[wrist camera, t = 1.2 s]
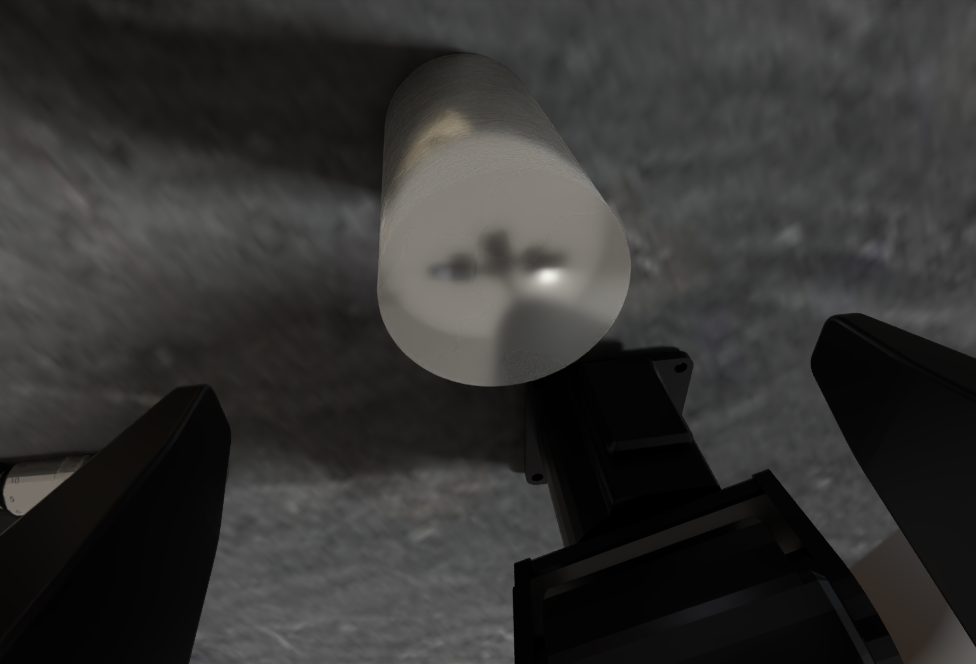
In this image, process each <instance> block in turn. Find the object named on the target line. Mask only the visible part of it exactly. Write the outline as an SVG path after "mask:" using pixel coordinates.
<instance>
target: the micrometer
mask: <svg viewBox="0 0 976 664" xmlns="http://www.w3.org/2000/svg"><path fill="white" fill-rule="evenodd" d="M93 456H95V455H93V454H87V455H75V456H68V457H65V458H53V459H41V460H29V461H21V462H19V463H17V464H16V465H14V466H12V467H8V466H7V465H6V463H0V534H1V533H2V532H4V531H5V530H6V529H7V528H8V527H10V526H11V525H12V524H13V523H14V522H16V521H17V520H18V519H19V518H20V517H22V516H23V515H24V514H25V513H26V512H28V511H29V510H30V509H31V508H32V507H34V506H35V505H36V504H37V503H38V502H40V501H41V500H42V499H43V498H44V497H46V496H47V495H48V494H49V493H50V492H52V491H53V490H54V489H55V488H56V487H58V486H59V485H60V484H61V483H62V482H63V481H65V480H66V479H67V478H68V477H69V476H71V475H72V474H73V473H74V472H75V471H77V470H78V469H79V468H80V467H81V466H83V465H84V464H85V463H86V462H87V461H89V460H90V459H91V458H92V457H93ZM228 474H229V465H228V470H227V479H226V483H227V480H228Z"/></svg>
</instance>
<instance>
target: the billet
mask: <svg viewBox="0 0 976 664" xmlns="http://www.w3.org/2000/svg"><path fill="white" fill-rule="evenodd" d="M630 271H631V261H630V251H629V247H628V243H627V239H626V236H625V234H624V232H623V229H622V227H621V225H620V223H619V222H618V220H617V218H616V217H615V215H614V214H613V212H612V211H611V209H610V208H609V206H608V205H607V204H606V202H605V201H604V199H603V198H602V196H601V195H600V193H599V192H598V190H597V189H596V188H595V186H594V185H593V183H592V182H591V180H590V179H589V177H588V176H587V174H586V173H585V172H584V170H583V169H582V167H581V166H580V164H579V163H578V161H577V160H576V158H575V157H574V156H573V154H572V153H571V151H570V150H569V148H568V147H567V145H566V144H565V142H564V141H563V139H562V138H561V137H560V135H559V134H558V132H557V131H556V129H555V128H554V126H553V125H552V123H551V122H550V121H549V119H548V118H547V116H546V115H545V113H544V112H543V110H542V109H541V107H540V106H539V105H538V103H537V102H536V100H535V99H534V97H533V96H532V94H531V93H530V91H529V90H528V89H527V87H526V86H525V84H524V83H523V82H522V81H521V79H520V78H519V77H518V76H517V75H516V74H515V73H514V72H513V71H511V70H510V69H509V68H508V67H506V66H505V65H503V64H501V63H500V62H498V61H496V60H493V59H491V58H488V57H485V56H482V55H477V54H470V53H456V54H449V55H444V56H441V57H437V58H435V59H433V60H430V61H428V62H426V63H424V64H423V65H421V66H420V67H418V68H417V69H415V70H414V71H413V72H412V73H411V74H409V75H408V76H407V78H406V79H405V80H404V81H403V82H402V83H401V84H400V86H399V87H398V89H397V90H396V92H395V94H394V96H393V98H392V100H391V102H390V104H389V107H388V110H387V114H386V119H385V128H384V149H383V172H382V194H381V216H380V238H379V260H378V283H377V295H378V304H379V308H380V312H381V316H382V319H383V322H384V324H385V326H386V328H387V330H388V332H389V334H390V335H391V337H392V339H393V340H394V342H395V343H396V344H397V345H398V347H399V348H400V349H401V350H402V351H403V352H404V353H405V354H406V355H407V356H408V357H409V358H410V359H412V360H413V361H414V362H415V363H417V364H418V365H420V366H421V367H423V368H424V369H426V370H427V371H429V372H431V373H433V374H435V375H437V376H440V377H443V378H445V379H448V380H451V381H455V382H459V383H463V384H468V385H476V386H508V385H514V384H520V383H525V382H529V381H533V380H536V379H539V378H542V377H545V376H547V375H550V374H552V373H554V372H557V371H559V370H561V369H563V368H565V367H566V366H568V365H570V364H571V363H573V362H574V361H576V360H578V359H579V358H580V357H581V356H583V355H584V354H585V353H587V352H588V351H589V350H590V349H591V348H592V347H593V346H595V345H596V344H597V343H598V342H599V341H600V339H601V338H602V337H603V336H604V335H605V334H606V332H607V331H608V330H609V329H610V327H611V326H612V324H613V323H614V321H615V320H616V318H617V316H618V314H619V312H620V310H621V308H622V306H623V303H624V301H625V298H626V295H627V291H628V287H629V282H630Z"/></svg>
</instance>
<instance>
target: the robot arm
mask: <svg viewBox="0 0 976 664" xmlns="http://www.w3.org/2000/svg"><path fill="white" fill-rule="evenodd" d="M679 363H681V364H680V365H678V364H679ZM676 365H678V366H676ZM811 369H812V373H813V375H814V377H815V379H816V381H817V383H818V385H819V387H820V389H821V391H822V393H823V395H824V397H825V399H826V401H827V403H828V405H829V407H830V409H831V411H832V413H833V415H834V417H835V419H836V421H837V423H838V425H839V427H840V429H841V431H842V433H843V435H844V437H845V439H846V441H847V443H848V445H849V447H850V449H851V451H852V453H853V454H854V456H855V458H856V460H857V461H858V463H859V465H860V466H861V468H862V470H863V471H864V473H865V475H866V476H867V478H868V479H869V481H870V482H871V484H872V486H873V487H874V489H875V490H876V492H877V493H878V495H879V496H880V498H881V500H882V501H883V503H884V504H885V506H886V507H887V509H888V511H889V512H890V514H891V515H892V517H893V518H894V520H895V522H896V523H897V525H898V526H899V528H900V529H901V531H902V532H903V534H904V536H905V537H906V539H907V540H908V542H909V543H910V545H911V546H912V548H913V550H914V551H915V553H916V554H917V556H918V557H919V559H920V560H921V562H922V564H923V565H924V567H925V568H926V570H927V572H928V573H929V574H930V576H931V578H932V579H933V581H934V583H935V584H936V586H937V587H938V589H939V590H940V592H941V593H942V595H943V597H944V598H945V600H946V601H947V603H948V604H949V606H950V607H951V609H952V611H953V612H954V614H955V615H956V617H957V619H958V620H959V622H960V623H961V625H962V626H963V628H964V630H965V631H966V633H967V634H968V636H969V637H970V639H971V640H972V642H973V644H974V645H975V647H976V358H973V357H971V356H968V355H966V354H963V353H961V352H958V351H956V350H953V349H950V348H948V347H945V346H943V345H940V344H938V343H935V342H933V341H930V340H928V339H925V338H923V337H920V336H917V335H915V334H912V333H910V332H907V331H905V330H902V329H900V328H897V327H895V326H892V325H890V324H887V323H884V322H882V321H879V320H877V319H874V318H872V317H869V316H867V315H864V314H861V313H849V314H839V315H834V316H831V317H829V318H828V319H827V320H826V322H825V323H824V326H823V328H822V331H821V333H820V336H819V338H818V341H817V343H816V346H815V348H814V351H813V354H812V356H811ZM692 370H693V361H692V360H691V358H690V357H689V355H688V354H687V353H686V352H684V351H677V352H668V353H659V354H650V355H642V356H633V357H624V358H615V359H607V360H598V361H589V362H580V363H571V364H570V365H568V366H566V367H565V368H563V369H561V370H559V371H557V372H554V373H552V374H550V375H547V376H545V377H542V378H539V379H543V380H542V381H540V382H535V381H536V380H539V379H536V380H533V381H529V382H525V468H524V472H525V476H526V480H527V482H528V483H529V484H532V485H539V484H547V483H548V487H549V491H550V495H551V499H552V502H553V506H554V510H555V514H556V518H557V522H558V526H559V529H560V533H561V537H562V541H563V545H564V548H562V549H560V550H557V551H554V552H551V553H549V554H546V555H543V556H541V557H538V558H535V559H533V560H531V559H530V558H527V559H524V560H522V561H519V562H516V563H514V579H515V587H513V619H514V656H515V664H903V661H902V659H901V657H900V654H899V652H898V650H897V648H896V646H895V644H894V643H893V640H892V638H891V636H890V634H889V633H888V631H887V629H886V627H885V625H884V624H883V622H882V620H881V618H880V617H879V615H878V613H877V611H876V610H875V608H874V607H873V605H872V603H871V602H870V600H869V598H868V597H867V595H866V593H865V592H864V590H863V589H862V588H861V586H860V585H859V583H858V582H857V580H856V579H855V577H854V576H853V574H852V573H851V572H850V570H849V569H848V568H847V566H846V565H845V564H844V562H843V561H842V560H841V558H840V557H839V556H838V555H837V553H836V552H835V551H834V550H833V548H832V547H831V546H830V545H829V543H828V542H827V541H826V540H825V538H824V537H823V536H822V535H821V533H820V532H819V531H818V530H817V528H816V527H815V526H814V525H813V523H812V522H811V521H810V520H809V518H808V517H807V516H806V515H805V513H804V512H803V511H802V510H801V508H800V507H799V506H798V505H797V503H796V502H795V501H794V500H793V498H792V497H791V496H790V495H789V493H788V492H787V491H786V490H785V488H784V487H783V486H782V485H781V483H780V482H779V481H778V480H777V478H776V477H775V476H774V475H773V473H772V472H771V471H770V470H769V469H766V470H764V471H761V472H758V473H756V474H753V475H752V478H751V479H748V480H746V481H743V482H740V483H737V484H735V485H732V486H729V487H727V488H724V489H721V487H720V485H719V484H718V482H717V480H716V478H715V476H714V475H713V473H712V471H711V469H710V467H709V465H708V464H707V462H706V460H705V458H704V456H703V455H702V453H701V451H700V449H699V447H698V445H697V444H696V442H695V440H694V438H693V435H692V432H691V431H690V429H689V427H688V425H687V423H686V422H685V420H684V418H683V416H682V412H683V407H684V403H685V399H686V395H687V391H688V387H689V382H690V378H691V374H692ZM230 445H231V431H230V426H229V423H228V421H227V419H226V416H225V414H224V412H223V410H222V408H221V405H220V403H219V401H218V399H217V396H216V394H215V392H214V390H213V389H212V388H211V386H209V385H207V384H197V385H188V386H181V387H177V388H175V389H174V390H172V391H171V392H170V393H169V394H168V395H166V396H165V397H164V398H163V399H162V400H160V401H159V402H158V403H157V404H156V405H154V406H153V407H152V408H151V409H150V410H148V411H147V412H146V413H145V414H144V415H142V416H141V417H140V418H139V419H138V420H136V421H135V422H134V423H133V424H132V425H130V426H129V427H128V428H127V429H126V430H124V431H123V432H122V433H121V434H120V435H118V436H117V437H116V438H115V439H114V440H113V441H111V442H110V443H109V444H108V445H107V446H105V447H104V448H103V449H102V450H101V451H99V452H98V453H97V454H96V455H95V456H93V457H92V458H91V459H90V460H89V461H87V462H86V463H85V464H84V465H83V466H81V467H80V468H79V469H78V470H77V471H75V472H74V473H73V474H72V475H71V476H69V477H68V478H67V479H66V480H65V481H63V482H62V483H61V484H60V485H59V486H58V487H56V488H55V489H54V490H53V491H52V492H50V493H49V494H48V495H47V496H46V497H44V498H43V499H42V500H41V501H40V502H38V503H37V504H36V505H35V506H34V507H32V508H31V509H30V510H29V511H28V512H26V513H25V514H24V515H23V516H22V517H20V518H19V519H18V520H17V521H16V522H14V523H13V524H12V525H11V526H10V527H8V528H7V529H6V530H5V531H4V532H2V533H1V534H0V664H189V662H190V657H191V653H192V649H193V645H194V641H195V637H196V633H197V629H198V625H199V621H200V617H201V612H202V608H203V604H204V600H205V596H206V592H207V588H208V584H209V580H210V576H211V571H212V567H213V563H214V559H215V555H216V550H217V545H218V541H219V534H220V528H221V520H222V512H223V504H224V495H225V487H226V479H227V470H228V462H229V454H230Z"/></svg>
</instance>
